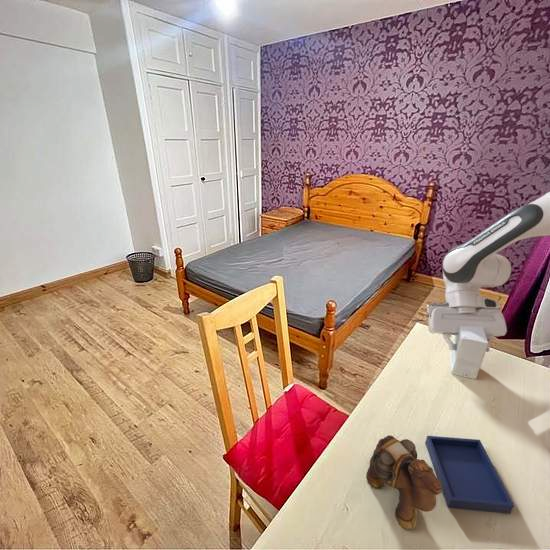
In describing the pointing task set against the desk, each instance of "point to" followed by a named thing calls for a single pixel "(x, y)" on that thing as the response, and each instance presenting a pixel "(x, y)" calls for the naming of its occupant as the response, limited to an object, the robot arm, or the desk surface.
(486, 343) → the small box
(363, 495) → the desk surface
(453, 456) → the tray
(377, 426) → the desk surface
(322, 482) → the desk surface
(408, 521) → the figurine
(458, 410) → the desk surface
